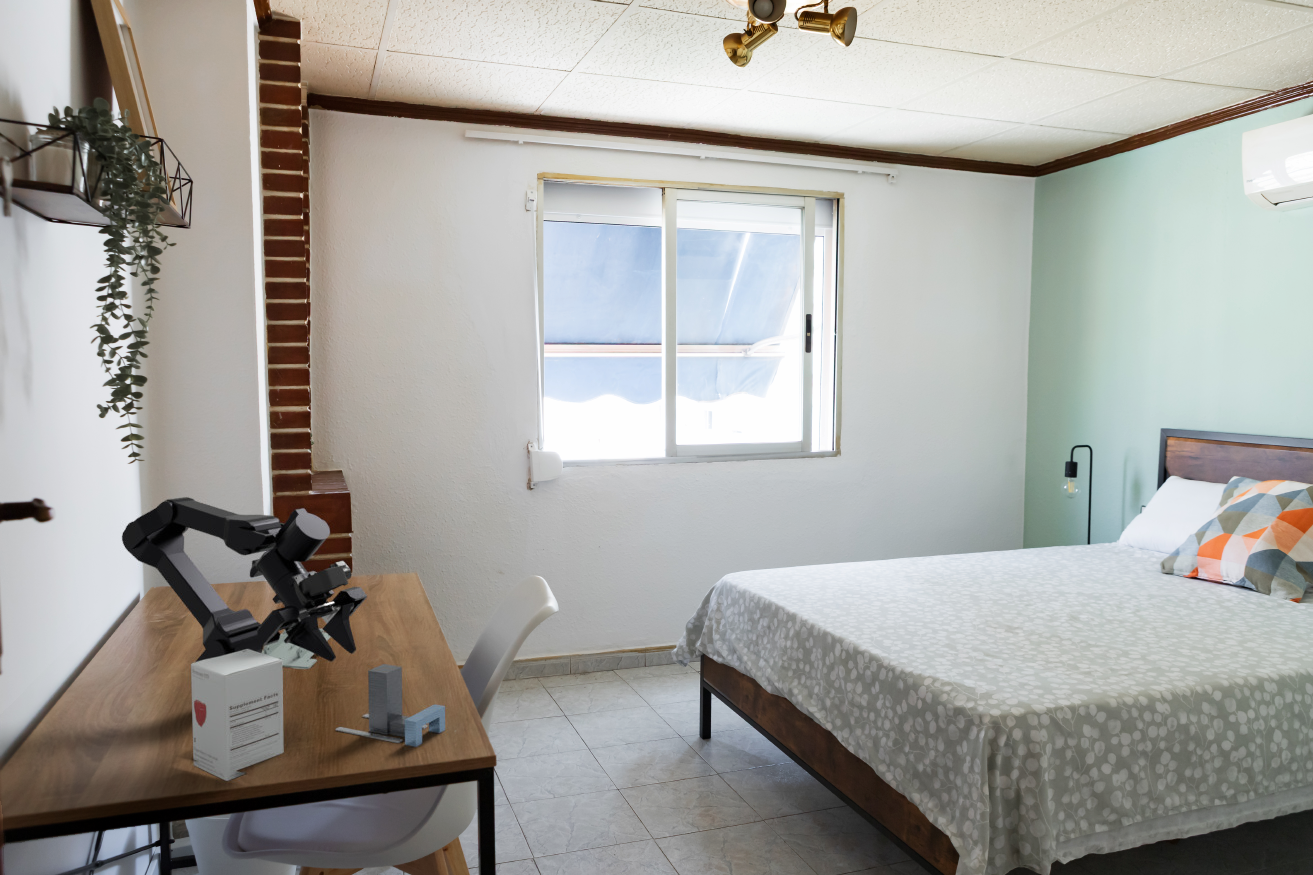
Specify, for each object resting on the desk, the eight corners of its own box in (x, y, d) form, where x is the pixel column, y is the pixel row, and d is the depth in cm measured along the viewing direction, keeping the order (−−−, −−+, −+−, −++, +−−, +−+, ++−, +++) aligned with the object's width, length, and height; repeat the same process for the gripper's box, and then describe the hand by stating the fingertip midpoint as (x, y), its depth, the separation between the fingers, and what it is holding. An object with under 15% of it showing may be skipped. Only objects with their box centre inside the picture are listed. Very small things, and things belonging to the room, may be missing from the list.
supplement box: (190, 766, 125) (188, 662, 124) (250, 745, 132) (248, 647, 131) (225, 782, 120) (223, 674, 119) (285, 759, 127) (284, 658, 126)
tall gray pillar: (369, 731, 135) (368, 670, 134) (384, 723, 138) (383, 663, 138) (408, 739, 132) (408, 676, 132) (423, 730, 135) (422, 670, 135)
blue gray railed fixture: (333, 737, 135) (332, 706, 135) (366, 720, 142) (366, 691, 142) (415, 754, 129) (414, 722, 129) (446, 735, 136) (445, 705, 136)
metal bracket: (278, 619, 183) (343, 623, 180) (283, 643, 185) (348, 648, 182) (233, 658, 170) (303, 663, 166) (239, 683, 172) (308, 689, 168)
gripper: (269, 558, 131) (328, 639, 127) (357, 538, 148) (411, 610, 145) (232, 604, 135) (287, 685, 131) (322, 580, 152) (373, 651, 148)
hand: (344, 655), depth 139 cm, fingers open, 4 cm apart
